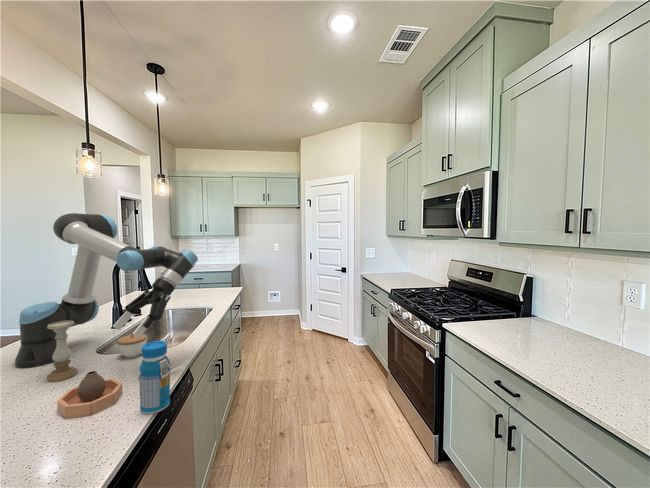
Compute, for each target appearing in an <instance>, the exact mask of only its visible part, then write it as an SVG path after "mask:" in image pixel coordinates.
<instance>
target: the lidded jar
mask: <svg viewBox="0 0 650 488" xmlns="http://www.w3.org/2000/svg"><path fill="white" fill-rule="evenodd" d="M116 344H117V348H118V352H119V354H120V355H121V356H122V357H124V359H133V358H137V357H139V356H140V355H141V354H142V347H143V345H145V344H147V334H144V333H143V334H142V336H141V337H138V336H136V335H134V334H133V333H132V334H129V335H124V336H122V337H120V338H118V339H117V343H116ZM140 353H141V354H140Z"/></svg>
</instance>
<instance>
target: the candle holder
mask: <svg viewBox="0 0 650 488" xmlns="http://www.w3.org/2000/svg"><path fill="white" fill-rule="evenodd" d="M74 324H75V322H74V321H60V322H55V323H51V324H49V325H48V326H47V329H54V332H56V334H57V335H56V337H55V338H54V339H56V340H57V346H56V349H55V351H54V353H53V356H52V359H53V361H54V362H53V366H54V368H55V369H54V370H52V371H51V372H50V373H49V374H48V375H47V376H46V381H48V382H50V383H53V382H60V381H65V380H67V379H70V378H73V377H75V376H76V375H77V374H78V373H79V370H78V368H76V367H74V366H69V365H70V363H71V359H70V358H71V357H72V354H73V353H72V350H71V349H70V348H69V346H68V342H67V339H68V337H69V334H67V331H68V330H69V328H71V327H70V326H72V325H74ZM72 327H73V326H72Z"/></svg>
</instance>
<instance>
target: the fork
mask: <svg viewBox="0 0 650 488" xmlns="http://www.w3.org/2000/svg"><path fill="white" fill-rule="evenodd" d="M191 360H192V359H190V358H186V359H185V360H184V361H183V362H182V363H180V364H179V365H178V366H175V367H174V368H173V369H170V375H171V374H172V373H174V372H175V371H177V370H182V369H184V368H186V367H187V366H188V365H189V364H190V363H191Z"/></svg>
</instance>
